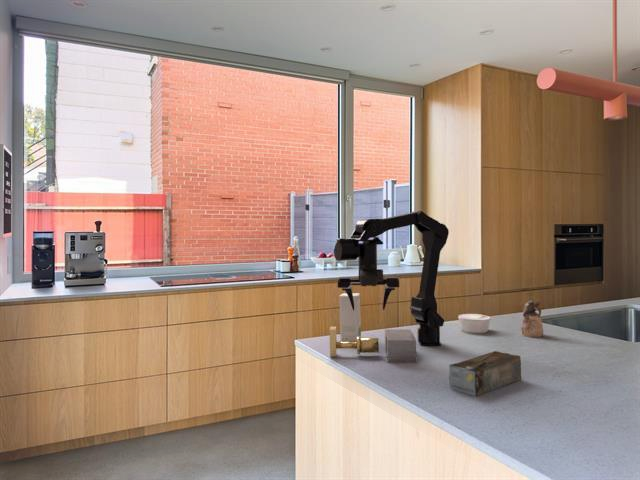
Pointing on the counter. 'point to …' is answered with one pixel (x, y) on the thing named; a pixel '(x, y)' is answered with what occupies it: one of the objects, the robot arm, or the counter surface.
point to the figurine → (532, 320)
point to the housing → (400, 346)
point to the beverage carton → (485, 373)
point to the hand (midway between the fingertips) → (368, 309)
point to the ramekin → (474, 323)
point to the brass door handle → (353, 344)
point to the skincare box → (349, 318)
